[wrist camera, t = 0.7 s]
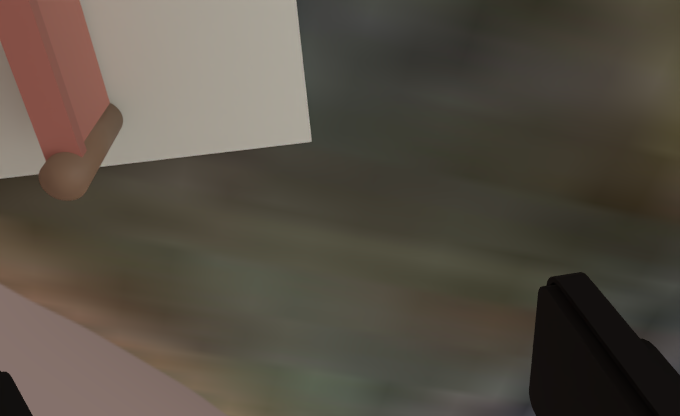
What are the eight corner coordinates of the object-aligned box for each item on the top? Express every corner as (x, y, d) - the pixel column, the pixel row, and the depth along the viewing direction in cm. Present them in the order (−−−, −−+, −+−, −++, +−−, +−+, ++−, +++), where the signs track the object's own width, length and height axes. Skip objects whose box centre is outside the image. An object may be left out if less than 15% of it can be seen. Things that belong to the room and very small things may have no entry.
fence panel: (11, -106, 23) (-71, -99, 17) (57, -109, 23) (-10, -104, 17) (90, 137, 28) (47, 203, 23) (127, 133, 28) (93, 197, 23)
